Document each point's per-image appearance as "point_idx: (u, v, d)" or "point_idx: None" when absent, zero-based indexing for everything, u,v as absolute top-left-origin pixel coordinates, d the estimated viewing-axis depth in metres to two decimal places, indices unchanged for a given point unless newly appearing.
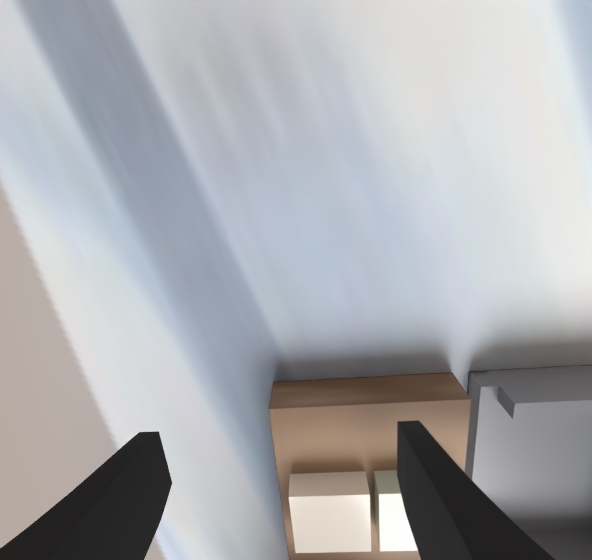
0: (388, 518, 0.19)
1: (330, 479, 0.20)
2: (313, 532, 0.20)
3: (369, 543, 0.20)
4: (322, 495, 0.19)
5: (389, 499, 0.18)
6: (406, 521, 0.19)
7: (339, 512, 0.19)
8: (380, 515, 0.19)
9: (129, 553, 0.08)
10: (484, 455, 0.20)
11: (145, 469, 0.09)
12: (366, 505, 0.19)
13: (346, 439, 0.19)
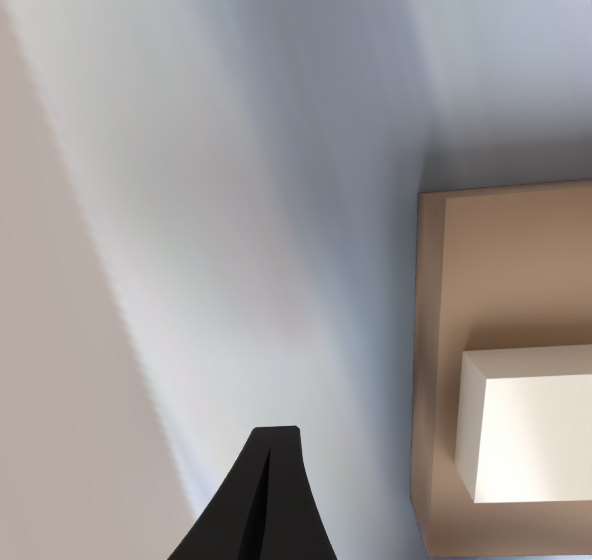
0: None
1: (553, 354, 0.10)
2: (520, 459, 0.10)
3: None
4: (557, 375, 0.09)
5: None
6: None
7: (585, 413, 0.09)
8: None
9: None
10: None
11: None
12: None
13: None
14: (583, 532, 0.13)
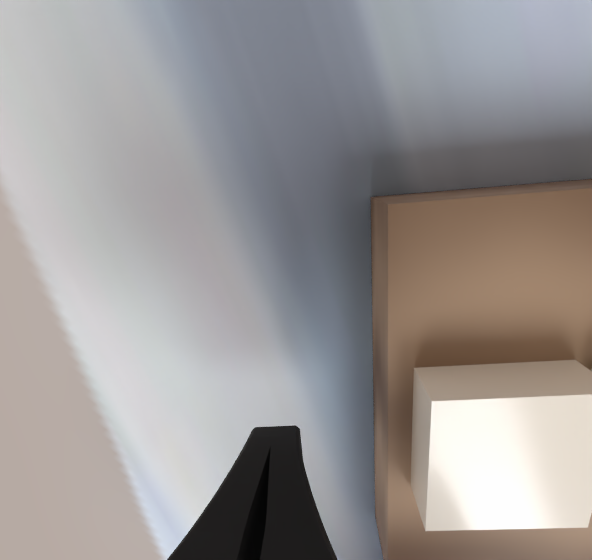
0: None
1: (508, 372, 0.09)
2: (472, 485, 0.09)
3: (588, 509, 0.09)
4: (508, 397, 0.08)
5: None
6: None
7: (540, 438, 0.09)
8: None
9: None
10: None
11: None
12: None
13: (551, 282, 0.09)
14: (549, 556, 0.12)
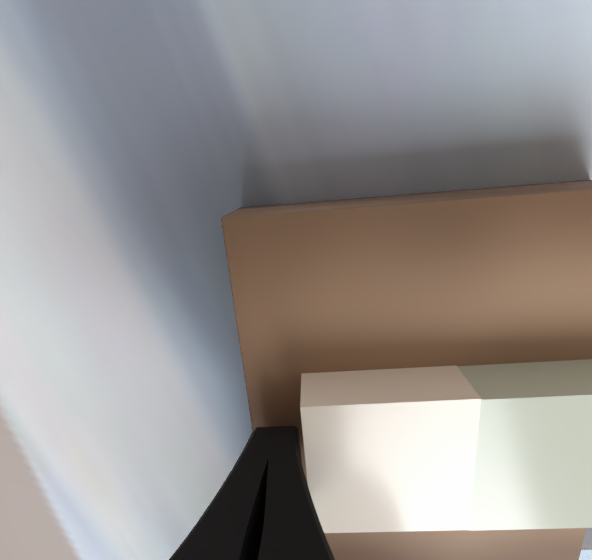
0: (495, 457, 0.09)
1: (386, 378, 0.09)
2: (350, 489, 0.09)
3: (466, 512, 0.09)
4: (374, 403, 0.09)
5: (502, 413, 0.08)
6: (533, 464, 0.09)
7: (409, 443, 0.09)
8: (478, 451, 0.09)
9: None
10: None
11: None
12: (470, 425, 0.09)
13: (387, 293, 0.09)
14: (427, 558, 0.12)
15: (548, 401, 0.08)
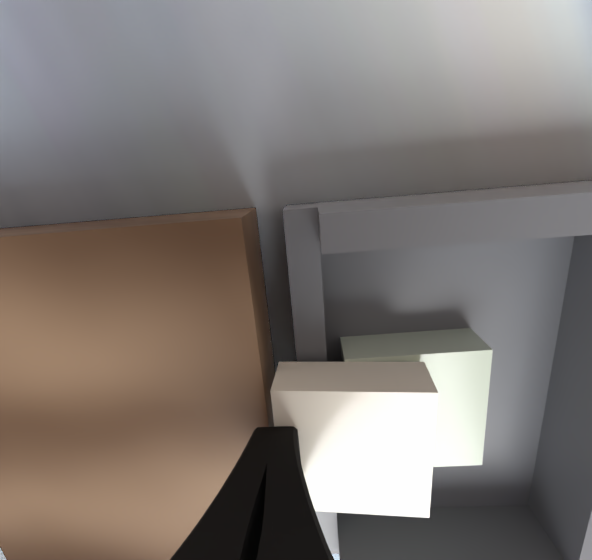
0: None
1: (355, 370, 0.10)
2: (317, 470, 0.10)
3: (427, 501, 0.10)
4: (338, 391, 0.09)
5: None
6: None
7: (371, 430, 0.09)
8: None
9: None
10: (314, 361, 0.11)
11: None
12: (428, 418, 0.09)
13: (23, 317, 0.10)
14: None
15: (396, 360, 0.10)
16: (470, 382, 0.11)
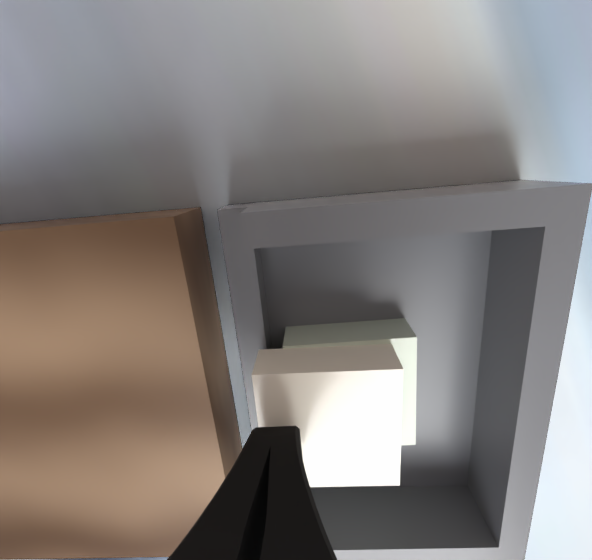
0: None
1: (329, 353, 0.11)
2: None
3: (397, 469, 0.11)
4: (314, 372, 0.10)
5: None
6: None
7: (345, 407, 0.10)
8: None
9: None
10: (255, 348, 0.12)
11: None
12: (396, 392, 0.10)
13: None
14: (110, 537, 0.14)
15: None
16: None
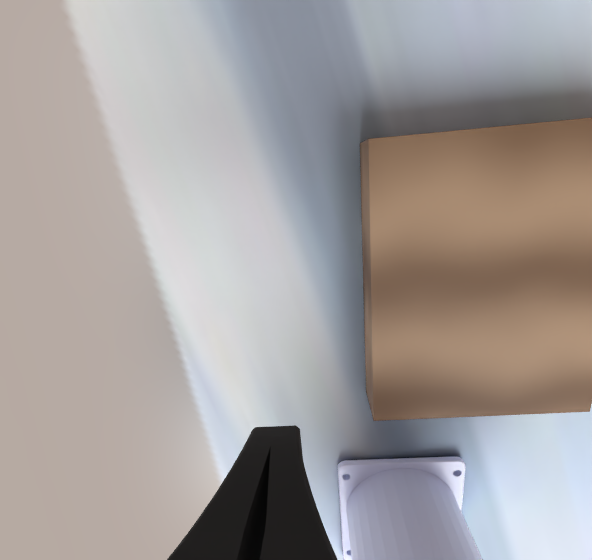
0: None
1: None
2: None
3: None
4: None
5: None
6: None
7: None
8: None
9: None
10: None
11: None
12: None
13: (471, 189, 0.14)
14: (485, 396, 0.17)
15: None
16: None
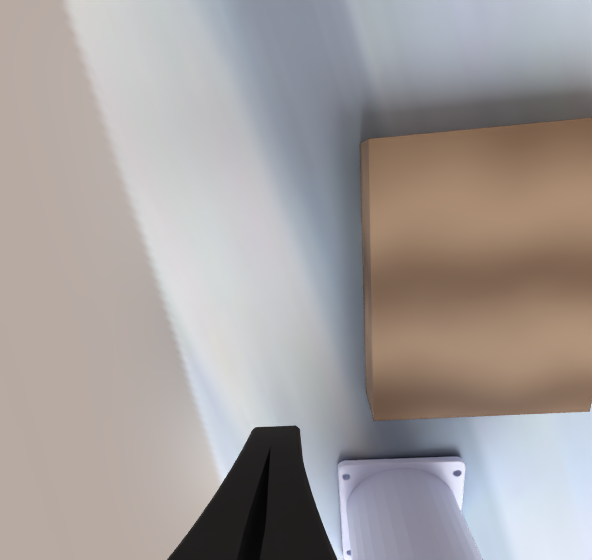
0: None
1: None
2: None
3: None
4: None
5: None
6: None
7: None
8: None
9: None
10: None
11: None
12: None
13: (471, 189, 0.14)
14: (485, 396, 0.17)
15: None
16: None
